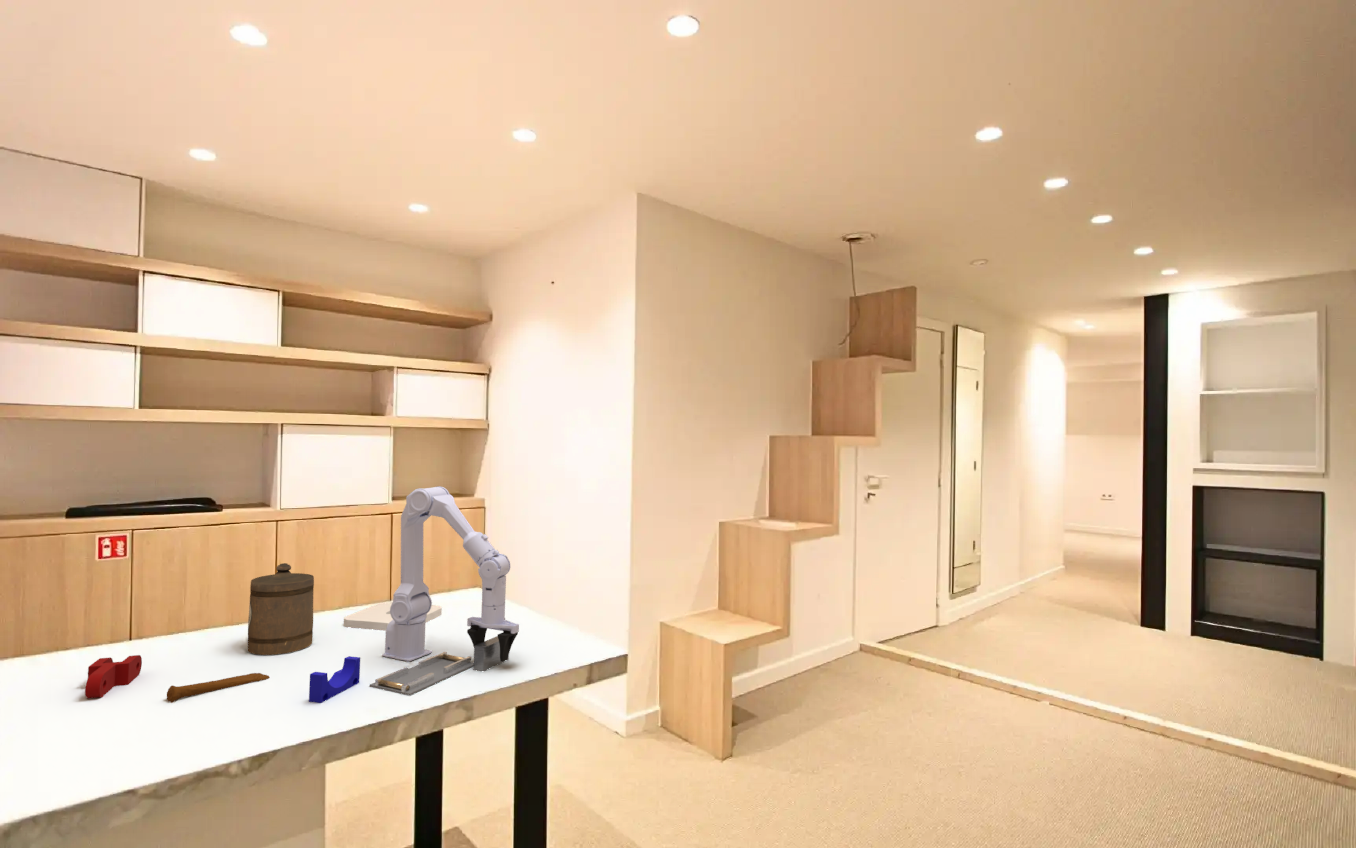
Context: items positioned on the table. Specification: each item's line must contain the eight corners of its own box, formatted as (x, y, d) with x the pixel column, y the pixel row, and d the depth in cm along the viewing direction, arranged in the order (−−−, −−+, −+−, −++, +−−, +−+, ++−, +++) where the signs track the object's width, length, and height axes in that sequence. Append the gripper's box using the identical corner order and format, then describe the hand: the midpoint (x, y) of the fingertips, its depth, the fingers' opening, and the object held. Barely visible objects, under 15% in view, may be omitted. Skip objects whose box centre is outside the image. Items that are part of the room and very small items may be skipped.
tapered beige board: (338, 628, 193) (338, 619, 193) (383, 609, 215) (383, 601, 215) (406, 633, 190) (406, 624, 190) (445, 614, 211) (445, 605, 211)
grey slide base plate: (369, 686, 148) (369, 684, 148) (439, 657, 169) (439, 656, 169) (409, 695, 144) (410, 693, 144) (476, 665, 164) (476, 663, 164)
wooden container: (276, 636, 183) (279, 557, 183) (324, 640, 180) (327, 560, 181) (232, 653, 168) (236, 567, 168) (285, 658, 166) (288, 570, 166)
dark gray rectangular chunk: (473, 670, 161) (474, 645, 161) (499, 658, 170) (499, 635, 170) (483, 672, 160) (484, 647, 160) (508, 660, 169) (509, 636, 169)
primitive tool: (259, 674, 155) (260, 659, 155) (271, 680, 152) (272, 664, 152) (162, 701, 138) (163, 685, 138) (175, 708, 135) (176, 691, 136)
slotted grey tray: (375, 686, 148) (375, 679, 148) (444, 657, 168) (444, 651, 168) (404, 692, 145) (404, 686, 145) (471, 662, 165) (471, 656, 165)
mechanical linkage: (102, 677, 150) (103, 655, 150) (141, 673, 153) (142, 652, 153) (70, 703, 136) (71, 679, 136) (113, 699, 138) (114, 675, 138)
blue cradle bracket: (342, 681, 151) (343, 655, 152) (359, 683, 150) (360, 657, 151) (302, 701, 140) (303, 673, 140) (321, 704, 139) (322, 675, 139)
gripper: (526, 603, 166) (525, 657, 166) (480, 597, 172) (478, 649, 171) (509, 610, 160) (507, 666, 159) (462, 603, 165) (460, 657, 165)
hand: (491, 658), depth 165 cm, fingers open, 7 cm apart
